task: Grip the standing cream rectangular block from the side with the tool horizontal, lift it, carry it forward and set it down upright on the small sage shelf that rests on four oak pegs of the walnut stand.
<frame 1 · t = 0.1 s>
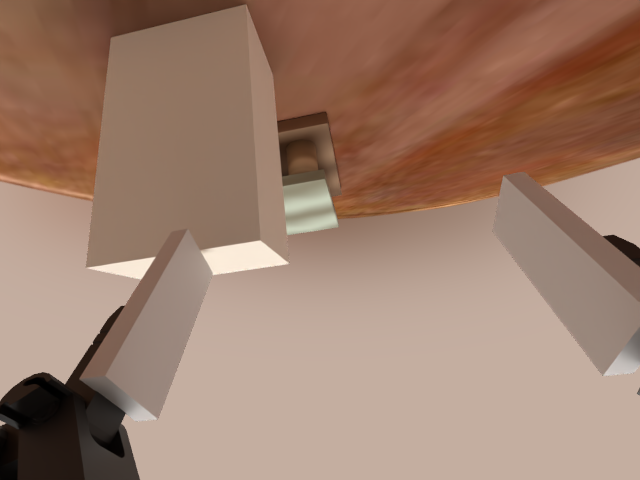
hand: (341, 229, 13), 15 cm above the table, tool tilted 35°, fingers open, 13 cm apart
cream rectangular block: (199, 58, 22), on the table
peg shelf: (269, 169, 37), on the table
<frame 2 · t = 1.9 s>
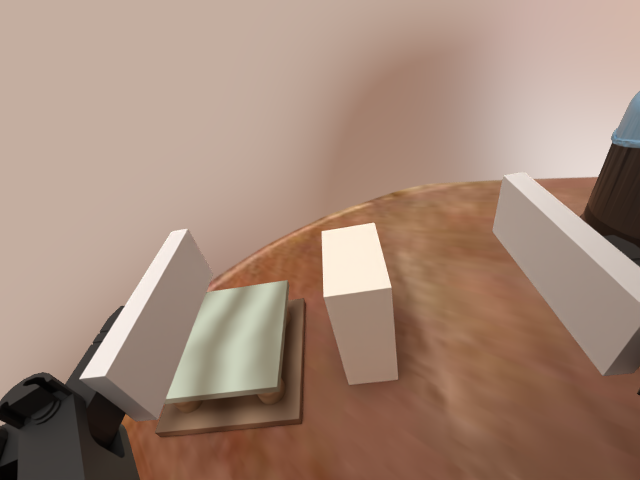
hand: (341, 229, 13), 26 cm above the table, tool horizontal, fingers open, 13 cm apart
cream rectangular block: (367, 346, 37), on the table
peg shelf: (242, 361, 39), on the table
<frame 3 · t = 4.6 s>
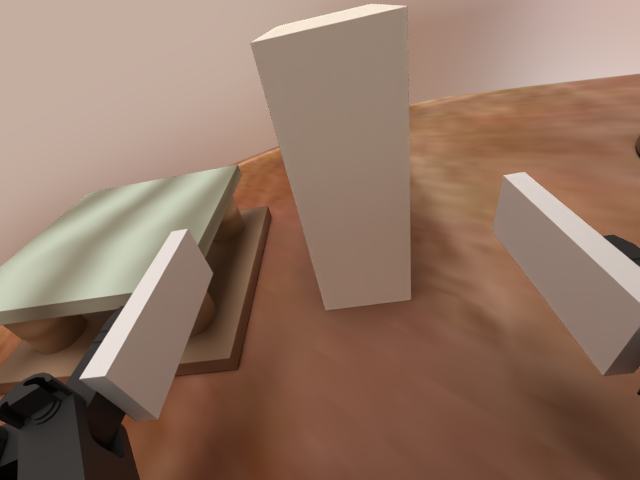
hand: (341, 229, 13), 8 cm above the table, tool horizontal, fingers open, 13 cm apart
cream rectangular block: (360, 258, 23), on the table
peg shelf: (164, 286, 25), on the table
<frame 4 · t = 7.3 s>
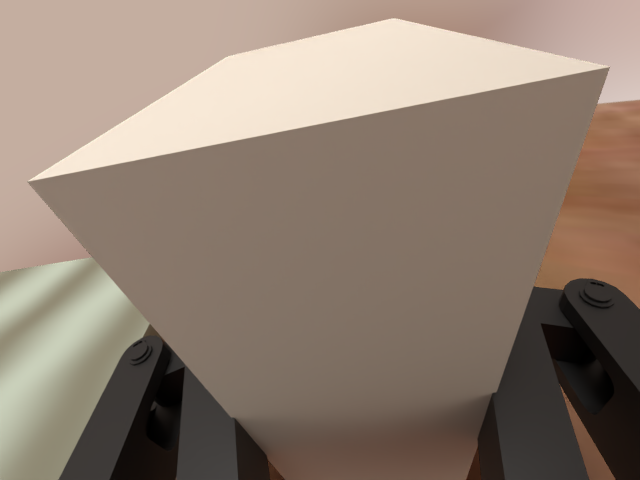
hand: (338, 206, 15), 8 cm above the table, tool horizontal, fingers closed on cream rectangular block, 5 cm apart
cream rectangular block: (368, 393, 15), on the table, touching gripper
peg shelf: (84, 421, 17), on the table
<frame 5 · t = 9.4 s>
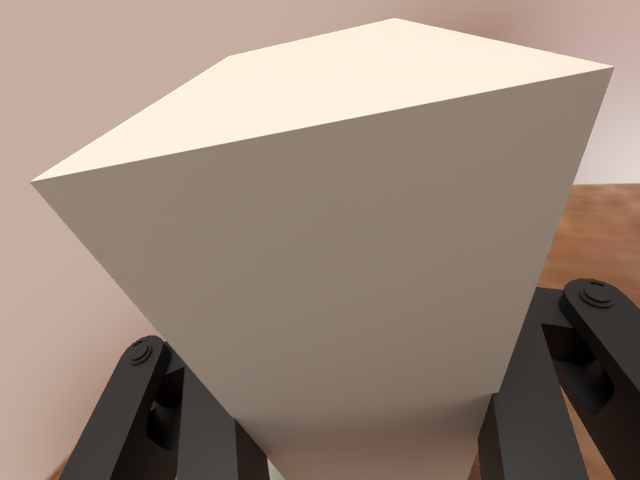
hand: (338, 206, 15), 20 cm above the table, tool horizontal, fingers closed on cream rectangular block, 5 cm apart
cream rectangular block: (369, 394, 15), point 12 cm above the table, touching gripper
when the fingers open (15 cm above the table, at t = 11.5 s): cream rectangular block drops 1 cm, resting on peg shelf.
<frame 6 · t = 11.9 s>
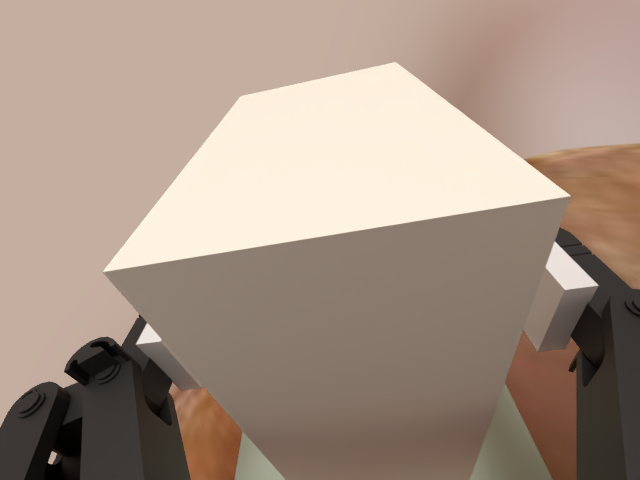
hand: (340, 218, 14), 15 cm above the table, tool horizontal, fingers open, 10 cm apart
cream rectangular block: (372, 405, 16), point 6 cm above the table, touching peg shelf
peg shelf: (379, 446, 20), on the table
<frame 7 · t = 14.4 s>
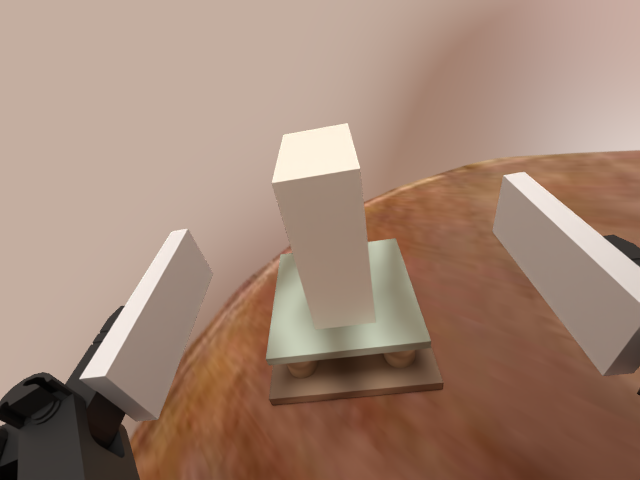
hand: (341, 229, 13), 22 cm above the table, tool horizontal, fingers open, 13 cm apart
cream rectangular block: (341, 289, 31), point 6 cm above the table, touching peg shelf
peg shelf: (347, 326, 35), on the table
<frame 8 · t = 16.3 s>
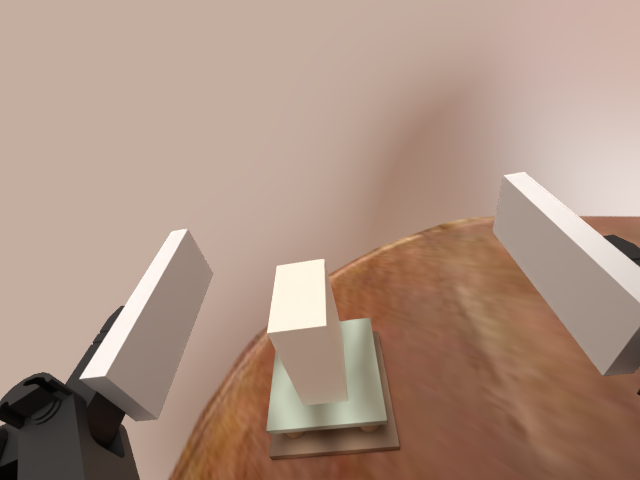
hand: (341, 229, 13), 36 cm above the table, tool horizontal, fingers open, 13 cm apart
cream rectangular block: (324, 368, 40), point 6 cm above the table, touching peg shelf
peg shelf: (331, 390, 44), on the table
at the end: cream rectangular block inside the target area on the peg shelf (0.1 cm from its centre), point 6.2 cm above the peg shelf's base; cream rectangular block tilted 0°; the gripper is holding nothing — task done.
